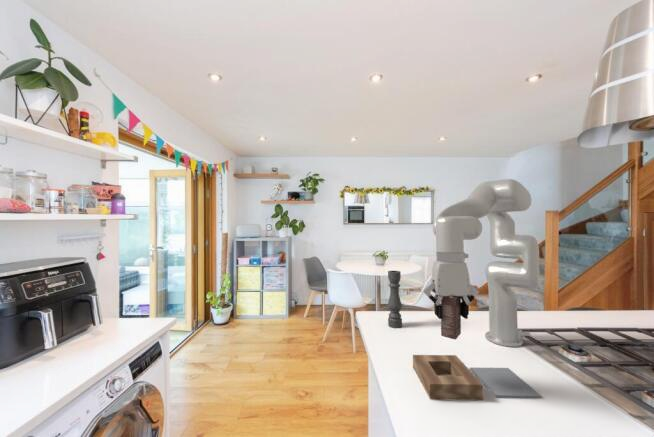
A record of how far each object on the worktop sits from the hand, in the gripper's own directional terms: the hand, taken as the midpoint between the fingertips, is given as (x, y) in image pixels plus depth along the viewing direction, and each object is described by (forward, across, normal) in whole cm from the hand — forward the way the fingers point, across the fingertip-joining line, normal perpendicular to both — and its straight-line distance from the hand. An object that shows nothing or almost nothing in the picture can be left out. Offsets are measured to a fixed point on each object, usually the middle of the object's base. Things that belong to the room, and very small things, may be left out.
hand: (451, 316), depth 80 cm
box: (+6, 0, 0) cm, 6 cm away
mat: (+19, -14, 0) cm, 24 cm away
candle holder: (+20, +8, -44) cm, 49 cm away
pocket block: (+19, +3, 0) cm, 19 cm away
